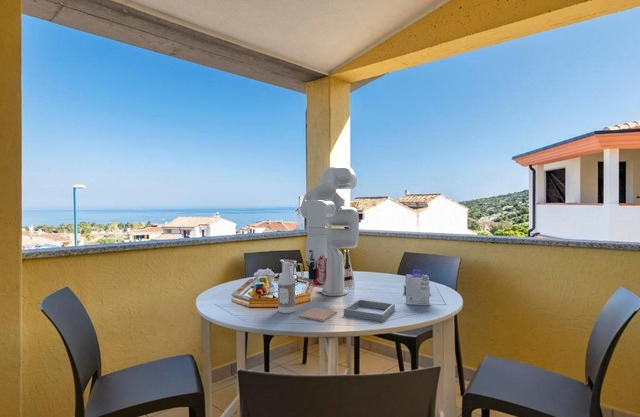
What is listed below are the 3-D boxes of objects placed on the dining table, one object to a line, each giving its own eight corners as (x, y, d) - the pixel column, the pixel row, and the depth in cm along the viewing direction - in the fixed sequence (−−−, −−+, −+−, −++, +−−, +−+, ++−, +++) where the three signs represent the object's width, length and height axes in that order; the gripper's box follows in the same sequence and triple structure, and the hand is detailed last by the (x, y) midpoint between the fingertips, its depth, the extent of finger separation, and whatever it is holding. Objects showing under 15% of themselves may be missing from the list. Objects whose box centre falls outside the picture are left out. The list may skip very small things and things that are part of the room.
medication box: (404, 294, 164) (404, 286, 164) (403, 293, 167) (403, 285, 167) (429, 295, 163) (429, 286, 163) (428, 293, 166) (428, 285, 166)
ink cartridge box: (428, 302, 150) (428, 269, 150) (430, 306, 145) (429, 271, 145) (405, 301, 152) (405, 268, 152) (406, 304, 147) (405, 271, 147)
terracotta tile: (298, 317, 132) (298, 315, 132) (312, 309, 142) (312, 307, 142) (323, 321, 127) (323, 319, 127) (336, 313, 136) (336, 311, 136)
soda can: (329, 284, 136) (329, 254, 136) (322, 288, 129) (321, 256, 129) (313, 283, 139) (313, 253, 139) (305, 286, 132) (305, 255, 132)
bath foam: (275, 312, 138) (274, 263, 138) (282, 307, 144) (281, 260, 144) (291, 314, 136) (290, 264, 136) (297, 309, 142) (297, 261, 142)
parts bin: (344, 315, 134) (343, 309, 134) (359, 305, 147) (359, 299, 147) (382, 321, 126) (382, 314, 126) (394, 309, 140) (394, 303, 140)
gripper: (319, 230, 143) (319, 272, 143) (297, 233, 128) (297, 280, 128) (335, 230, 140) (335, 274, 140) (314, 233, 124) (315, 282, 124)
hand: (317, 277), depth 134 cm, fingers closed on soda can, 7 cm apart
